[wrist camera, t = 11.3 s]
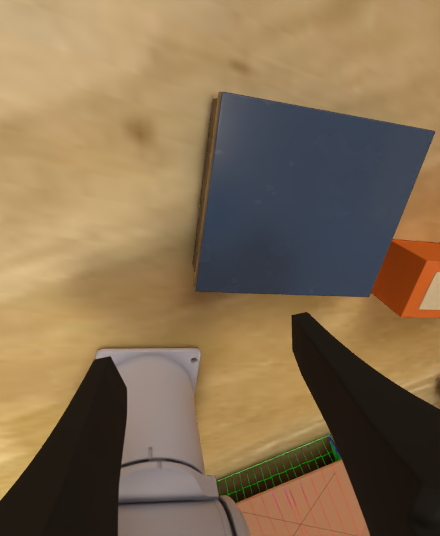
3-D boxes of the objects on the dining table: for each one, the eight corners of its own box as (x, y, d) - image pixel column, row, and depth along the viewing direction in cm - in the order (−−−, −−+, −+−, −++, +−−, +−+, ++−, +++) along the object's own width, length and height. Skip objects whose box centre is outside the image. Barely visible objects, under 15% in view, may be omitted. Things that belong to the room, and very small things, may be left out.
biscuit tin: (343, 274, 26) (369, 297, 23) (189, 267, 23) (195, 292, 20) (394, 127, 21) (436, 130, 18) (209, 93, 18) (222, 91, 15)
